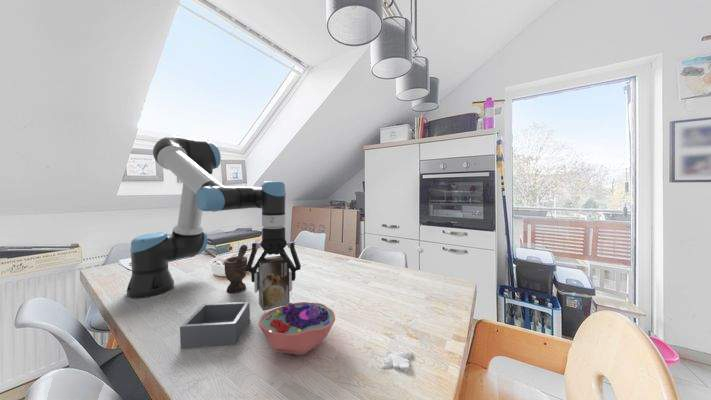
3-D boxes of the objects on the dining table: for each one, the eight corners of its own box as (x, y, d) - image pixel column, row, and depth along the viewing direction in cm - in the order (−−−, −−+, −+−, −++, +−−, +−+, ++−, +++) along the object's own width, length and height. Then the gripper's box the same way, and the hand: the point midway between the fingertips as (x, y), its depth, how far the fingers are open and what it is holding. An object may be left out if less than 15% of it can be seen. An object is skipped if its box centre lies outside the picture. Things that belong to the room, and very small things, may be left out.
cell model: (269, 329, 76) (268, 293, 75) (335, 327, 77) (335, 291, 76) (249, 370, 59) (249, 324, 58) (334, 367, 60) (335, 321, 60)
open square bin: (180, 348, 67) (179, 326, 66) (203, 322, 79) (203, 304, 79) (235, 344, 68) (235, 323, 68) (249, 319, 81) (249, 301, 81)
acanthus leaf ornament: (412, 356, 65) (412, 349, 65) (412, 376, 58) (413, 368, 58) (383, 352, 66) (383, 345, 66) (380, 370, 60) (380, 363, 60)
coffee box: (284, 297, 92) (284, 254, 91) (289, 304, 86) (290, 259, 85) (257, 303, 87) (257, 258, 86) (262, 311, 81) (262, 263, 80)
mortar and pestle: (258, 288, 107) (257, 241, 106) (243, 296, 98) (242, 246, 97) (235, 284, 110) (235, 239, 109) (220, 292, 102) (219, 244, 101)
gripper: (234, 229, 80) (234, 296, 81) (307, 228, 83) (307, 293, 84) (241, 225, 87) (242, 286, 89) (308, 225, 90) (308, 284, 91)
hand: (273, 290), depth 86 cm, fingers closed on coffee box, 11 cm apart
